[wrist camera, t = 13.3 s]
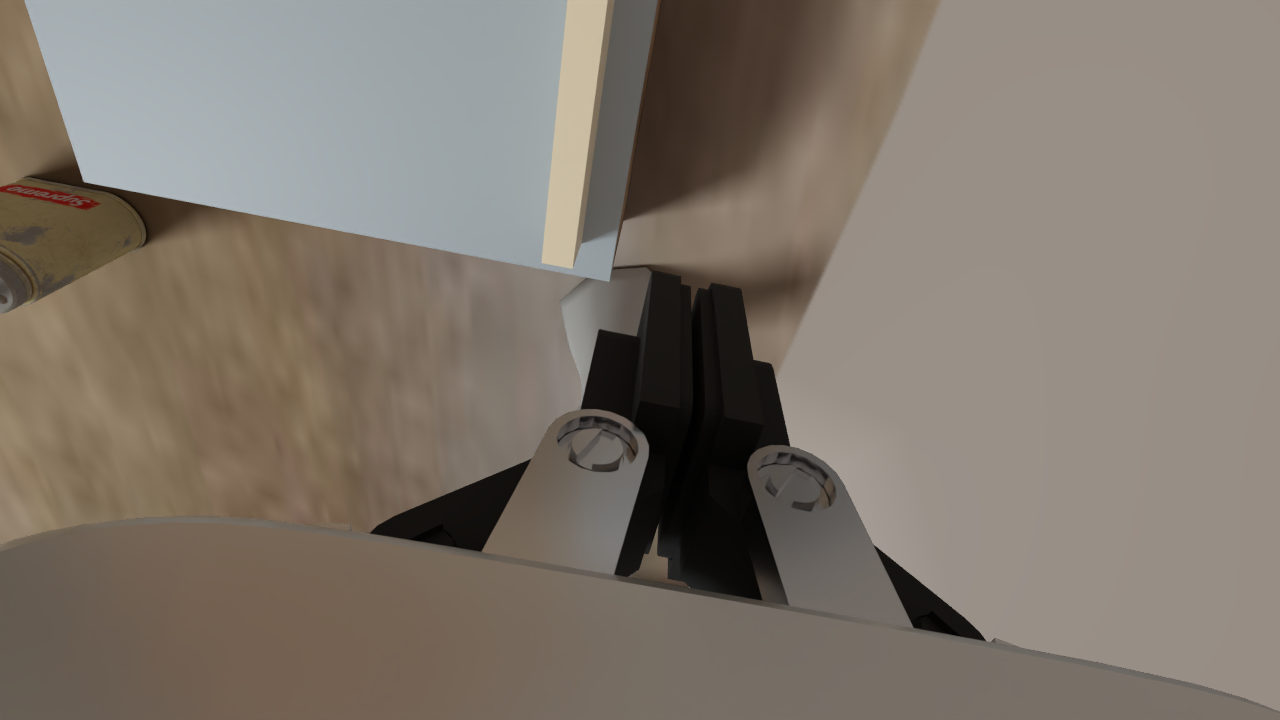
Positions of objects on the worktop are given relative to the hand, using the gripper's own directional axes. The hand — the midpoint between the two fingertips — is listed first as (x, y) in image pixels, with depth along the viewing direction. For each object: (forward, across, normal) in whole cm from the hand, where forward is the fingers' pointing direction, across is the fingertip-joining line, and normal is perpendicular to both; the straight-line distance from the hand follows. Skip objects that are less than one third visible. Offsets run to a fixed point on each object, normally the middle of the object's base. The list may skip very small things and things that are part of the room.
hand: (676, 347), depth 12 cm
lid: (+15, +13, 0) cm, 20 cm away
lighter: (+21, +31, +12) cm, 40 cm away
